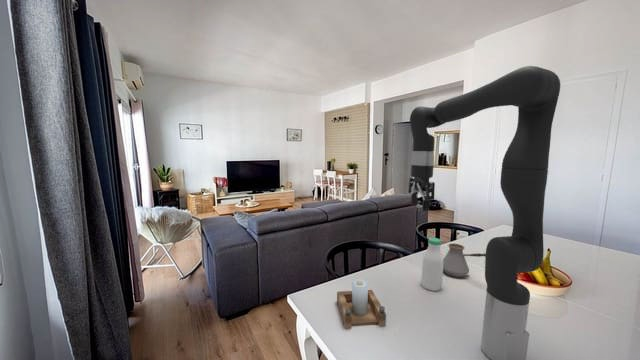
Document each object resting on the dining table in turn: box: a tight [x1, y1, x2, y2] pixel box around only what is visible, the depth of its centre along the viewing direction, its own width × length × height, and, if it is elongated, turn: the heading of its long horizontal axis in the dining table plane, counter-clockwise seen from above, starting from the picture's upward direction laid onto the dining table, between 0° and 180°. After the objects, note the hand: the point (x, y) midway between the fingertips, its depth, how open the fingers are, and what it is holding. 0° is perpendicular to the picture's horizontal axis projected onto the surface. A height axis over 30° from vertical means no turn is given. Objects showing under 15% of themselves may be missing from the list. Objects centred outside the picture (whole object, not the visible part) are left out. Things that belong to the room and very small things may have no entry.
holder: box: [336, 289, 387, 329], centre depth 87 cm, size 14×13×6 cm
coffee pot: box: [443, 243, 486, 278], centre depth 111 cm, size 21×12×15 cm, turn 22°
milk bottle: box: [420, 237, 444, 292], centre depth 104 cm, size 8×8×20 cm
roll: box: [351, 278, 369, 316], centre depth 86 cm, size 5×5×10 cm
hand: (419, 207), depth 95 cm, fingers open, 8 cm apart
